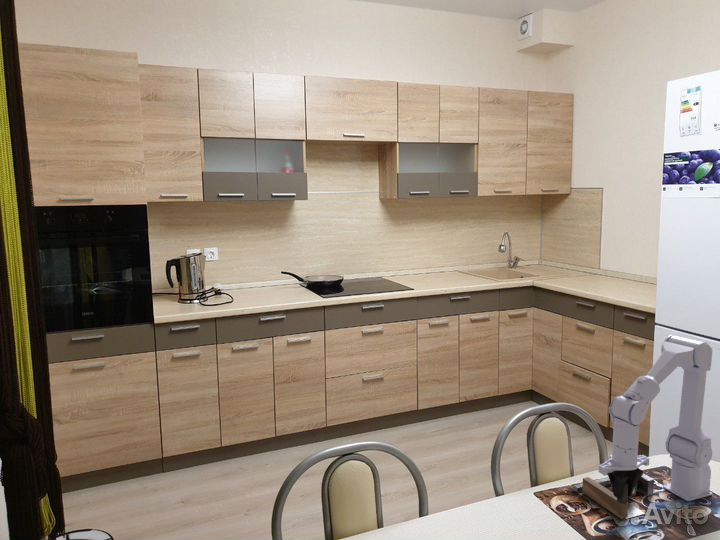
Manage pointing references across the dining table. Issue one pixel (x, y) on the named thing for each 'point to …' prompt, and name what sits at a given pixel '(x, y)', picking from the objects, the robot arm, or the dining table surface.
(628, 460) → the robot arm
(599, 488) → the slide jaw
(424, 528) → the dining table surface
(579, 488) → the vice frame
